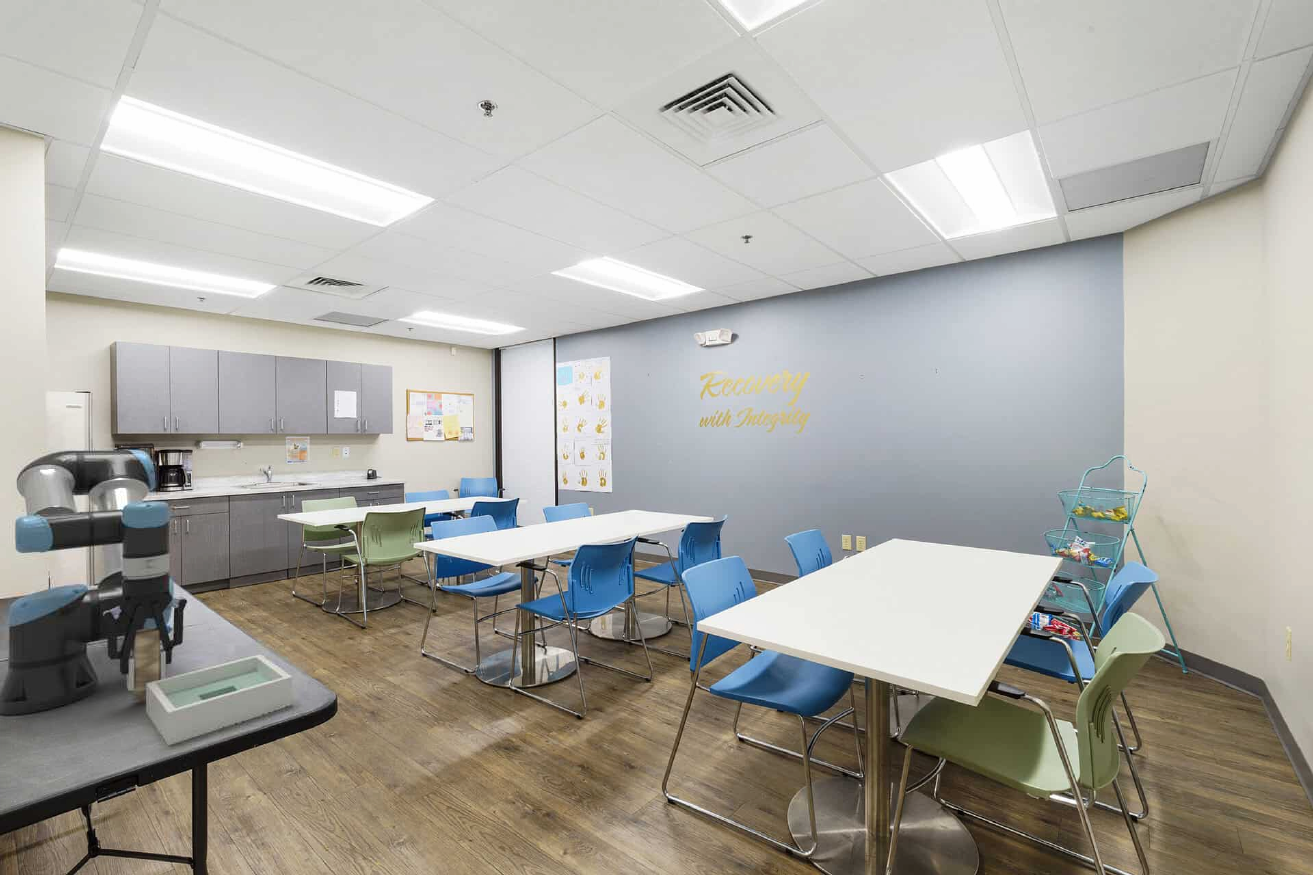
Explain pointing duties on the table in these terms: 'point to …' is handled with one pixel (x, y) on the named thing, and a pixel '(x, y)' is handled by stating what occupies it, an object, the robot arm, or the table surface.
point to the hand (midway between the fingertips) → (146, 683)
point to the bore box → (216, 697)
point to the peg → (145, 661)
